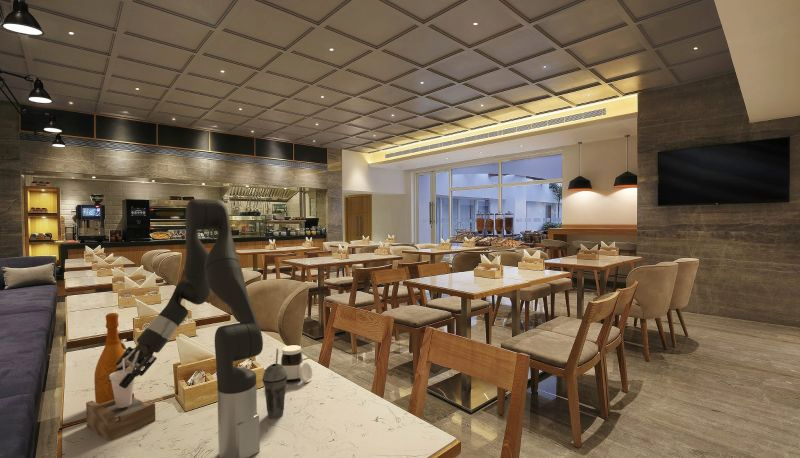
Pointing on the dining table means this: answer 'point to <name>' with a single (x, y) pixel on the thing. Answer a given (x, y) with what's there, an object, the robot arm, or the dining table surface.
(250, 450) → the robot arm
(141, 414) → the brown wooden tray
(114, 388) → the smoothie
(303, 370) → the spread jar
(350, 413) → the dining table surface
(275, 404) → the beverage cup
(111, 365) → the wine bottle
